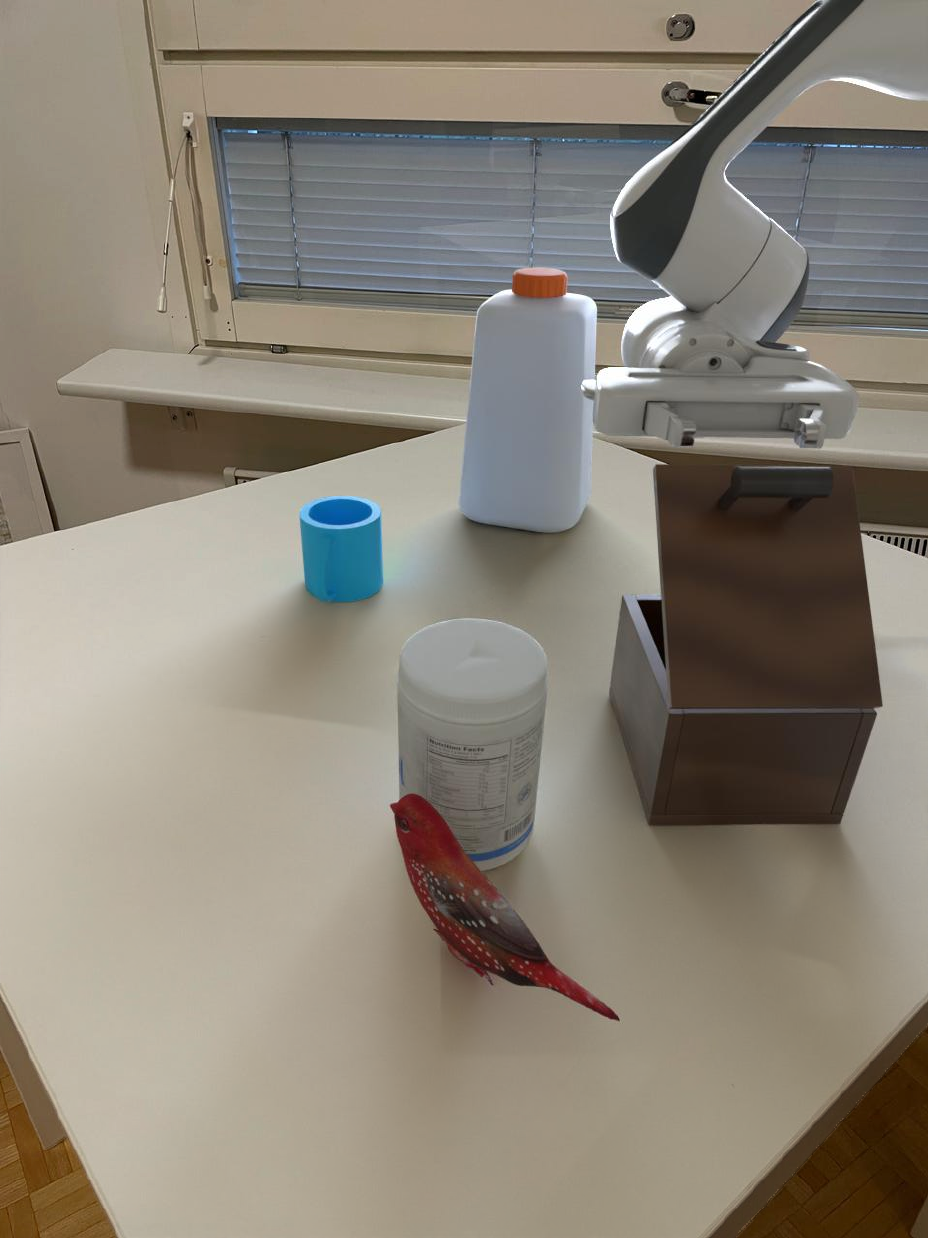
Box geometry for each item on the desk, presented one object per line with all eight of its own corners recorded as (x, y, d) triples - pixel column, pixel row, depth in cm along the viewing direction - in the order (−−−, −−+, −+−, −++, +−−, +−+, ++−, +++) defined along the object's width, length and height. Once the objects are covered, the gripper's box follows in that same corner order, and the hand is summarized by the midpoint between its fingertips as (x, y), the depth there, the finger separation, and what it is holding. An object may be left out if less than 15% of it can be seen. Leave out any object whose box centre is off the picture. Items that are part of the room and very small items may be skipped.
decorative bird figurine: (409, 883, 57) (407, 765, 52) (623, 1075, 46) (648, 951, 41) (374, 906, 55) (369, 787, 50) (588, 1112, 45) (610, 987, 39)
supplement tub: (404, 779, 66) (402, 612, 58) (530, 782, 66) (544, 615, 58) (394, 879, 57) (390, 698, 50) (538, 882, 57) (555, 702, 50)
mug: (320, 561, 96) (315, 492, 92) (391, 569, 95) (390, 499, 90) (279, 615, 86) (271, 540, 82) (359, 626, 84) (355, 550, 80)
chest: (608, 693, 76) (622, 593, 71) (766, 693, 76) (791, 594, 71) (648, 826, 62) (669, 714, 57) (840, 824, 63) (878, 713, 58)
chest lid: (652, 468, 61) (675, 431, 56) (847, 470, 62) (889, 433, 56) (668, 709, 57) (695, 695, 51) (877, 708, 58) (925, 694, 52)
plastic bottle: (572, 541, 102) (597, 288, 87) (449, 522, 105) (453, 277, 91) (594, 493, 114) (619, 265, 100) (484, 478, 118) (492, 256, 103)
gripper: (580, 342, 72) (611, 391, 60) (823, 346, 73) (900, 396, 61) (573, 416, 75) (601, 477, 63) (805, 420, 76) (875, 480, 64)
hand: (750, 437), depth 62 cm, fingers open, 8 cm apart
